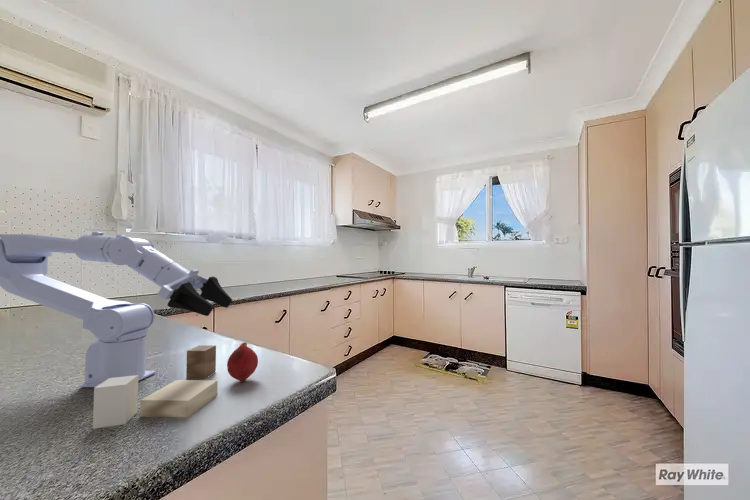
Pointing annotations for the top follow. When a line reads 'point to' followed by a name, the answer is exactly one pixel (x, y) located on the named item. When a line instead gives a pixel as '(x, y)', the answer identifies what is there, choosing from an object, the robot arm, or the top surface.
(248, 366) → the onion
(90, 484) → the top surface
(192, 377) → the walnut block
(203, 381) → the beech slab
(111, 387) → the offwhite block
